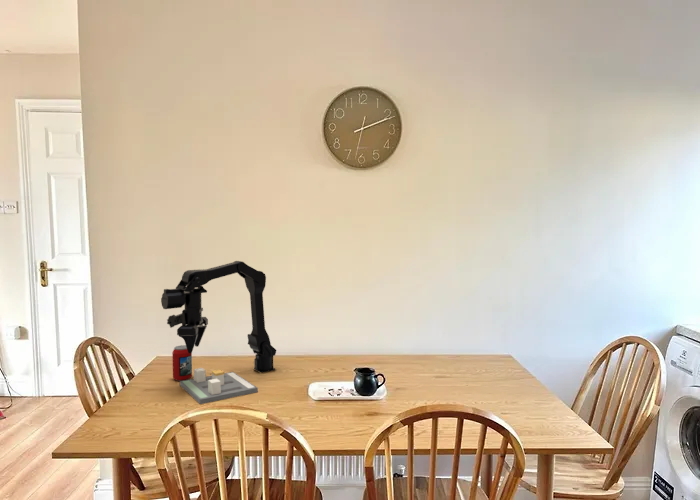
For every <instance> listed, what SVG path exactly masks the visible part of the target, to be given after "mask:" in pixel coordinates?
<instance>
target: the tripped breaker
mask: <svg viewBox="0 0 700 500" xmlns="http://www.w3.org/2000/svg"><path fill="white" fill-rule="evenodd" d="M224 373H225V371H223V369H222V370H221V369H216V370H211V376H212V379H218V380H219V381H221V385H224Z"/></svg>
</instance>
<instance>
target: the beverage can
mask: <svg viewBox="0 0 700 500" xmlns="http://www.w3.org/2000/svg"><path fill="white" fill-rule="evenodd" d="M192 353H193V352H192ZM192 353H188V350H187V347H186V344H185V345H184V344H183V345H182V344H181V345H176V346H175V347H174V348H173V350H172V379H174V380H175V381H177V382H180V381H185V380H190V379H192V377H193V365H192V364H193V362H192V361H193V360H192V359H193V357H192V355H193V354H192Z"/></svg>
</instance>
